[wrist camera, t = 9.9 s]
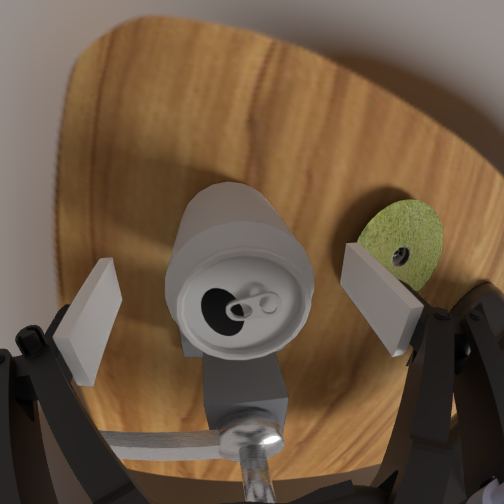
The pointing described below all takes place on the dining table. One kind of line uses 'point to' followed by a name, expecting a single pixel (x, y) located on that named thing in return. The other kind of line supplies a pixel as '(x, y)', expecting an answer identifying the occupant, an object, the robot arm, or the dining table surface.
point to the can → (237, 275)
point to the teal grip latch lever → (214, 447)
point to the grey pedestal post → (240, 385)
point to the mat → (405, 241)
